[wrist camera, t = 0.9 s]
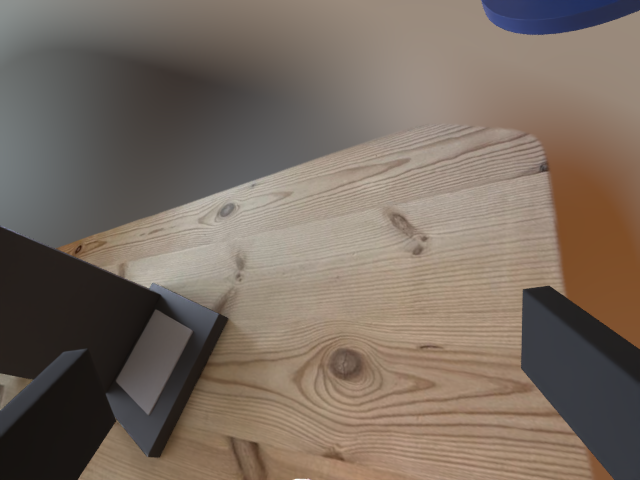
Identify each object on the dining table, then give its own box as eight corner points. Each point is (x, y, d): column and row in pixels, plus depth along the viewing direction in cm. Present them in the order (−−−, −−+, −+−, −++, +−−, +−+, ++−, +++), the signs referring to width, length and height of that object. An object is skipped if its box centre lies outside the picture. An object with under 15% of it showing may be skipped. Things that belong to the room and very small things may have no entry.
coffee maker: (228, 318, 44) (-92, 177, 25) (159, 458, 40) (-296, 424, 20) (161, 286, 57) (-90, 174, 37) (102, 391, 52) (-218, 329, 32)
